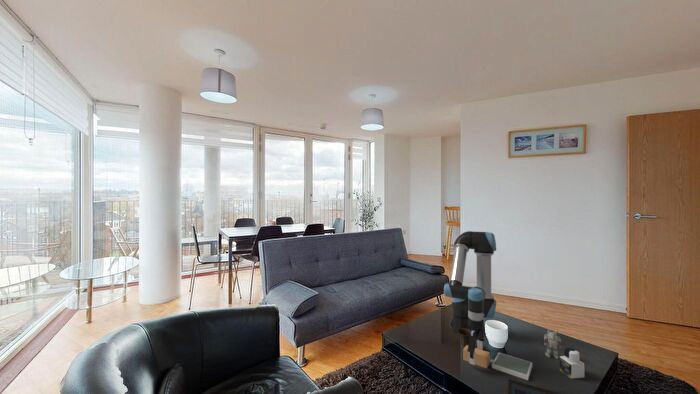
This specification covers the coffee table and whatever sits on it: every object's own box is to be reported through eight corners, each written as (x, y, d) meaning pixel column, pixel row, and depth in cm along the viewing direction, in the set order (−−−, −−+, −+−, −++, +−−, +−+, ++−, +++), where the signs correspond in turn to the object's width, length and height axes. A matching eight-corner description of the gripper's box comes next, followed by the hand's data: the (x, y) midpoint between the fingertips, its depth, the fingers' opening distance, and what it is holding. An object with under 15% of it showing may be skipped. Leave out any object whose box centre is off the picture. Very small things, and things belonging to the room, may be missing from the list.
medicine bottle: (559, 369, 147) (559, 346, 147) (572, 368, 148) (572, 345, 147) (571, 378, 140) (571, 354, 140) (584, 377, 140) (584, 353, 140)
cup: (475, 343, 173) (474, 327, 172) (474, 352, 165) (473, 336, 163) (459, 340, 177) (458, 325, 175) (458, 350, 168) (457, 334, 167)
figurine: (564, 358, 156) (564, 331, 156) (556, 362, 153) (555, 334, 153) (548, 351, 164) (548, 325, 163) (540, 355, 160) (540, 328, 160)
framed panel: (492, 368, 150) (491, 363, 149) (498, 355, 160) (498, 351, 160) (528, 380, 139) (528, 375, 139) (532, 366, 150) (532, 362, 150)
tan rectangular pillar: (463, 360, 157) (463, 349, 157) (466, 355, 161) (466, 345, 161) (486, 368, 149) (486, 357, 149) (489, 363, 154) (489, 352, 153)
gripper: (476, 328, 143) (476, 371, 143) (489, 312, 162) (490, 350, 162) (460, 324, 148) (461, 366, 148) (475, 309, 167) (475, 346, 167)
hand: (476, 358), depth 155 cm, fingers open, 13 cm apart
